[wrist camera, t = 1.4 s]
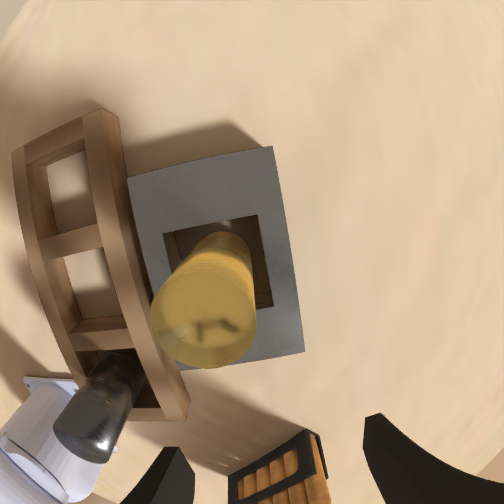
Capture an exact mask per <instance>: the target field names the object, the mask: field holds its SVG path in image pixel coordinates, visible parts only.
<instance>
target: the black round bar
mask: <svg viewBox="0 0 504 504" xmlns="http://www.w3.org/2000/svg"><path fill="white" fill-rule="evenodd" d="M146 378H147V376H146V373H145V371H144V368H143V366H142V364H141V361H140V359H139V356H138V354H137V351H136V349H135V348H127V349H113V350H108V351H107V352H106V353H105V355H104V356H103V357H102V359H101V360H100V361H99V362H98V364H97V365H96V366H95V368H94V369H93V370H92V372H91V373H90V374H89V376H88V377H87V378H86V380H85V381H84V382H83V384H82V385H81V386H80V388H79V389H78V390H77V392H76V393H75V394H74V396H73V397H72V398H71V400H70V401H69V403H68V404H67V405H66V407H65V408H64V410H63V411H62V412H61V414H60V415H59V417H58V418H57V419H56V421H55V422H54V424H53V431H54V434H55V436H56V437H57V439H58V440H59V441H60V443H61V444H62V445H63V446H64V447H65V448H66V449H68V450H69V451H70V452H71V453H73V454H74V455H76V456H78V457H79V458H81V459H83V460H86V461H88V462H91V463H96V464H104V463H106V462H108V460H109V458H110V456H111V454H112V451H113V449H114V447H115V445H116V442H117V440H118V438H119V436H120V433H121V431H122V429H123V427H124V425H125V422H126V420H127V418H128V416H129V414H130V412H131V410H132V407H133V405H134V403H135V401H136V399H137V397H138V395H139V393H140V390H141V388H142V386H143V384H144V382H145V380H146Z"/></svg>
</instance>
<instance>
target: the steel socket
mask: <svg viewBox="0 0 504 504" xmlns="http://www.w3.org/2000/svg"><path fill="white" fill-rule="evenodd" d="M127 183H128V188H129V194H130V199H131V204H132V209H133V214H134V218H135V223H136V227H137V232H138V236H139V241H140V245H141V249H142V253H143V257H144V261H145V265H146V269H147V272H148V276H149V280H150V283H151V287H152V290H153V294H154V297H155V295H156V293H157V292H158V291H159V289H160V288H161V287H162V286H163V284H164V283H165V282H166V281H167V280H168V278H169V277H170V276H171V275H172V274H173V272H174V271H175V270H176V269H177V268H178V266H179V265H180V264H181V260H180V255H179V251H178V247H177V242H176V238H175V234H174V231H176V230H180V229H185V228H190V227H195V226H200V225H205V224H210V223H215V222H220V221H225V220H230V219H235V218H241V217H246V216H251V215H257V219H258V224H259V230H260V235H261V241H262V246H263V252H264V257H265V263H266V269H267V274H268V280H269V285H270V291H271V292H266V293H260V294H255V295H254V298H255V310H256V333H255V337H254V340H253V342H252V344H251V346H250V348H249V349H248V350H247V352H246V353H245V354H244V355H243V356H242V357H240V358H239V359H238V360H236V361H235V362H233V363H231V364H229V365H233V364H240V363H246V362H253V361H259V360H265V359H271V358H276V357H281V356H287V355H292V354H297V353H302V352H305V346H304V338H303V330H302V323H301V315H300V308H299V301H298V294H297V287H296V280H295V273H294V267H293V260H292V254H291V247H290V241H289V235H288V229H287V223H286V217H285V211H284V205H283V200H282V194H281V188H280V183H279V177H278V172H277V167H276V161H275V156H274V151H273V146H267V147H261V148H255V149H250V150H244V151H239V152H233V153H228V154H223V155H218V156H213V157H209V158H204V159H200V160H195V161H191V162H186V163H182V164H178V165H174V166H170V167H166V168H162V169H158V170H154V171H151V172H147V173H143V174H140V175H136V176H133V177H129V178H127ZM175 362H176V364H177V367H178V370H179V371H182V370H192V369H201V368H196V367H192V366H188V365H186V364H183V363H181V362H179V361H177V360H176V359H175Z"/></svg>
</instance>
